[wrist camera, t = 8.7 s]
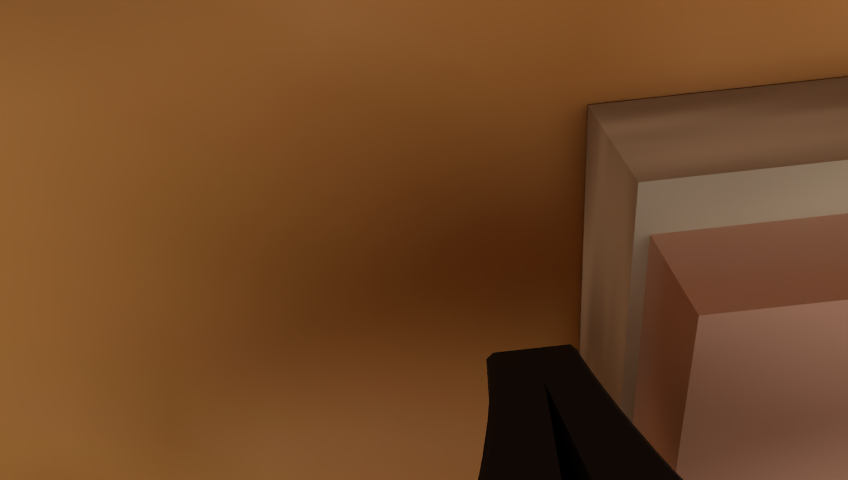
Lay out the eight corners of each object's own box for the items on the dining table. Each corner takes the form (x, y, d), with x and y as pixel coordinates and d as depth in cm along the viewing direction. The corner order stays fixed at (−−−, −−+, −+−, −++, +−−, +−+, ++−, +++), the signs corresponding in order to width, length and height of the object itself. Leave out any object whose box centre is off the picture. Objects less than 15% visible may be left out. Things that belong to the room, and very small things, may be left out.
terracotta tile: (868, 409, 14) (938, 498, 12) (631, 434, 14) (667, 527, 12) (939, 203, 11) (1039, 278, 9) (650, 234, 11) (698, 315, 9)
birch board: (938, 478, 20) (1021, 580, 17) (574, 516, 20) (603, 625, 17) (1133, 45, 13) (1315, 109, 11) (588, 104, 13) (637, 182, 11)
